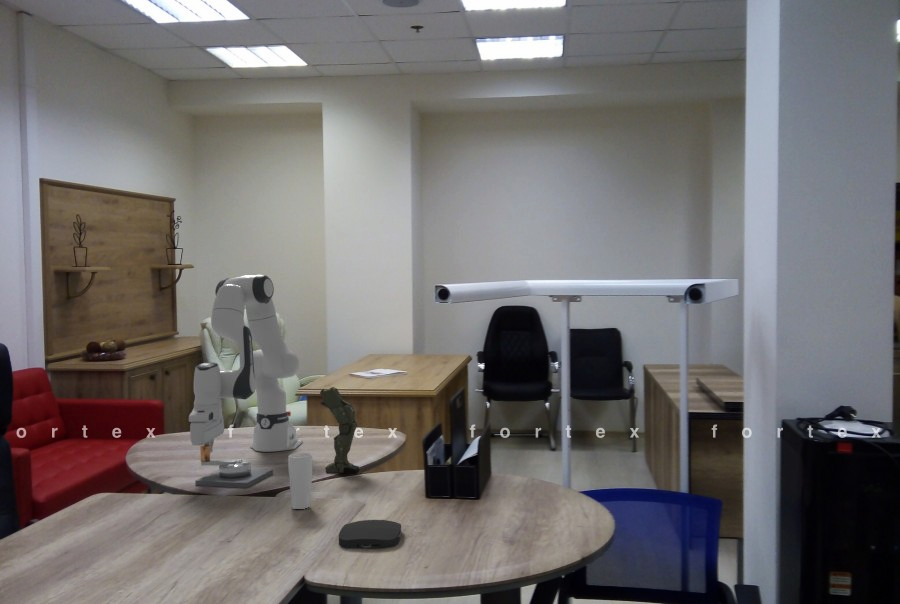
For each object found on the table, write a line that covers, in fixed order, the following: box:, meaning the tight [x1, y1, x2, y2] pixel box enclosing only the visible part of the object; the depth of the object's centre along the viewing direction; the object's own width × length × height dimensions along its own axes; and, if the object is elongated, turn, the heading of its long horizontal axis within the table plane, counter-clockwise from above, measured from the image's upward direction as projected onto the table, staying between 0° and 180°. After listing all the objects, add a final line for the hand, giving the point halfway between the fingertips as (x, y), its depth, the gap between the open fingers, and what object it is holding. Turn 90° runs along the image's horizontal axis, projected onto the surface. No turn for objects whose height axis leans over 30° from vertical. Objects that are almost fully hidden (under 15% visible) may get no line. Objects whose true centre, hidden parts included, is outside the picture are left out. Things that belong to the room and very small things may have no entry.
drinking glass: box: [287, 452, 314, 510], centre depth 206 cm, size 7×7×15 cm
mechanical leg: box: [319, 386, 360, 474], centre depth 249 cm, size 14×7×30 cm, turn 85°
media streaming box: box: [338, 519, 402, 549], centre depth 180 cm, size 15×15×3 cm
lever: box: [199, 445, 252, 478], centre depth 239 cm, size 16×10×9 cm, turn 86°
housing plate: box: [194, 468, 274, 489], centre depth 239 cm, size 18×18×2 cm
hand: (208, 453), depth 243 cm, fingers closed
